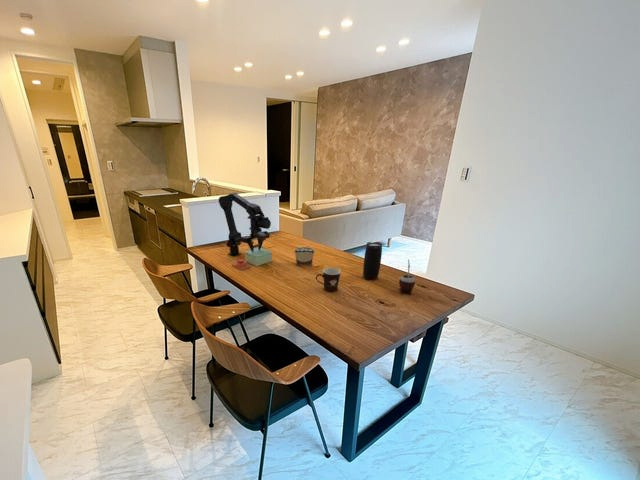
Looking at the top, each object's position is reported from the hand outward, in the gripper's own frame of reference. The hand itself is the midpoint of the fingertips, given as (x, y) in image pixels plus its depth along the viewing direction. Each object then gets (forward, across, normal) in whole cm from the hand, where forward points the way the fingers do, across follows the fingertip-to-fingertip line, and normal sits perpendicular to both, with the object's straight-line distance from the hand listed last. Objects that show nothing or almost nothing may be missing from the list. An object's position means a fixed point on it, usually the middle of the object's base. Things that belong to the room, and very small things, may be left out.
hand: (256, 250), depth 190 cm
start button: (+4, -14, -2) cm, 15 cm away
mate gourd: (+6, +27, -86) cm, 91 cm away
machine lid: (+1, 0, -2) cm, 3 cm away
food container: (+7, +18, -26) cm, 32 cm away
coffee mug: (+6, +1, -58) cm, 59 cm away
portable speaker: (+6, +29, -66) cm, 72 cm away
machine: (+7, 0, -3) cm, 7 cm away
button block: (+7, -14, -3) cm, 16 cm away
